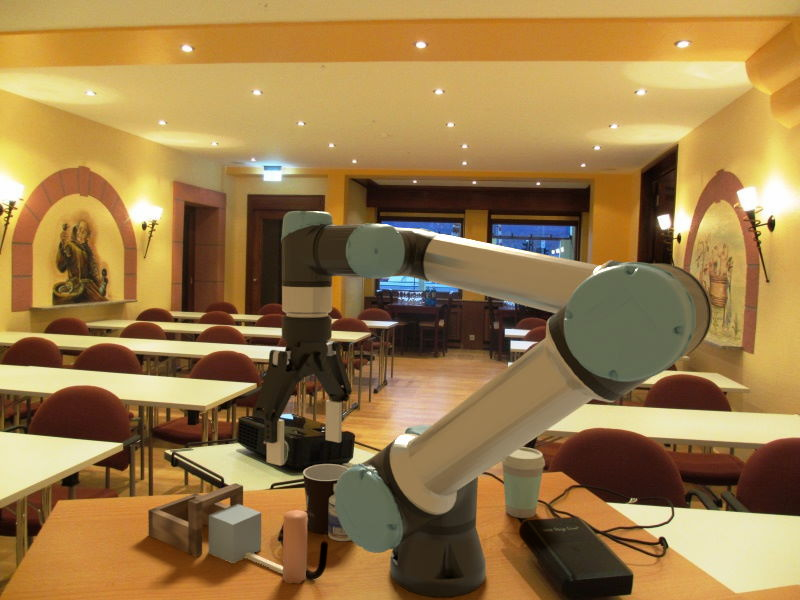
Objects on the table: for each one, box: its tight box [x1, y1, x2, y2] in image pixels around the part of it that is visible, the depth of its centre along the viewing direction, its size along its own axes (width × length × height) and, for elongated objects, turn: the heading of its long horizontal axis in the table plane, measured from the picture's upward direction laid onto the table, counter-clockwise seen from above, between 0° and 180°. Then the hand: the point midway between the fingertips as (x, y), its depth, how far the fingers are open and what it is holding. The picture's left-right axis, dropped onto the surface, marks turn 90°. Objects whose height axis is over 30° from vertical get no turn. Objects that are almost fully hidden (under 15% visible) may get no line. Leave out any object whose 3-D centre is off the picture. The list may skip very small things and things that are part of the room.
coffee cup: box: [500, 446, 546, 519], centre depth 124 cm, size 8×8×12 cm
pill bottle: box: [327, 484, 352, 542], centre depth 112 cm, size 5×5×10 cm
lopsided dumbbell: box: [208, 504, 308, 584], centre depth 102 cm, size 19×6×10 cm, turn 55°
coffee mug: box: [302, 463, 349, 534], centre depth 117 cm, size 12×9×10 cm
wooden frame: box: [147, 483, 244, 557], centre depth 111 cm, size 13×10×9 cm
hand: (306, 451), depth 98 cm, fingers open, 13 cm apart
